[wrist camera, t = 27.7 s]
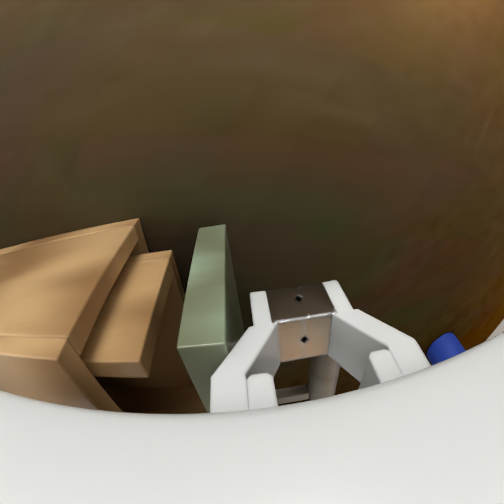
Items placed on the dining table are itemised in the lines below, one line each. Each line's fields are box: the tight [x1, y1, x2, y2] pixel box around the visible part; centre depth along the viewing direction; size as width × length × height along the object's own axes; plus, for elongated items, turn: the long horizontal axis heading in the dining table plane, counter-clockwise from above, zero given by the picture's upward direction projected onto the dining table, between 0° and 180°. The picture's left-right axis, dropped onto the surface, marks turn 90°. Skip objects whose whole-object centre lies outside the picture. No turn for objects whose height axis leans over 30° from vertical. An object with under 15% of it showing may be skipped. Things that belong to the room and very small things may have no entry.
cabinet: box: [0, 218, 149, 412], centre depth 12 cm, size 16×13×9 cm
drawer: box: [79, 224, 340, 414], centre depth 12 cm, size 19×11×7 cm, turn 96°
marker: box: [427, 333, 466, 365], centre depth 14 cm, size 3×3×14 cm
